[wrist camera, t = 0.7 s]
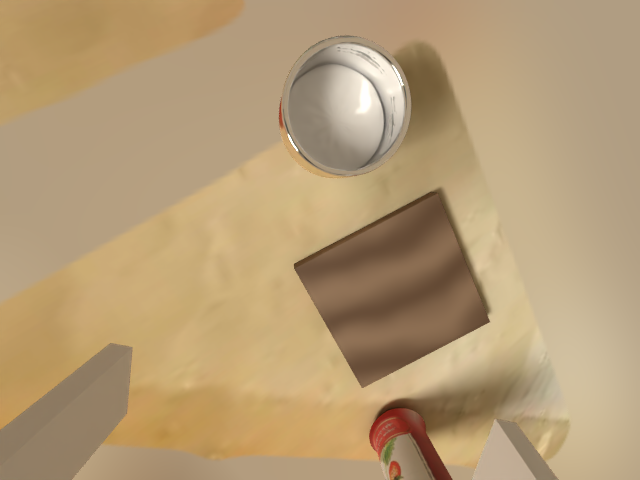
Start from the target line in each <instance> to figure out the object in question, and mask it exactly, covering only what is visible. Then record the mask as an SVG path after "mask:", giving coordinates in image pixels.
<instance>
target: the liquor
mask: <svg viewBox="0 0 640 480" xmlns="http://www.w3.org/2000/svg"><path fill="white" fill-rule="evenodd" d="M369 439H370V443H371V446H372V447H373V449H374V450H375V451H376V452H377V453H378V456H379V460H380V463H381V466H382V470H383V473H384V477H385V480H452V478H451V476H450V475H449V473H448V471H447V469H446V467H445V466H444V464H443V462H442V461H441V459H440V457H439V455H438V453H437V452H436V450H435V448H434V446H433V444H432V443H431V441H430V439H429V437H428V436H427V434H426V426H425V422H424V420H423V418H422V417H421V416H420V415H419V414H418V413H417V412H415V411H413V410H410V409H405V408H397V409H391V410H388V411H386V412H385V413H383V414H382V415H381V416H380V417H378V418H377V420H376V421H375V422H374V423H373V425H372V427H371V430H370V434H369Z"/></svg>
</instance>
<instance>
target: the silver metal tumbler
mask: <svg viewBox="0 0 640 480" xmlns="http://www.w3.org/2000/svg"><path fill="white" fill-rule="evenodd" d="M410 117H411V95H410V89H409V85H408V82H407V79H406V77H405V75H404V72H403V70H402V69H401V67H400V65H399V64H398V63H397V61H396V60H395V59H394V58H393V56H392V55H391V54H390V53H389V52H388V51H386V50H385V49H384V48H382V47H381V46H380V45H378V44H376V43H375V42H372V41H370V40H368V39H365V38H361V37H357V36H336V37H331V38H328V39H325V40H323V41H321V42H318V43H317V44H315V45H313V46H312V47H310V48H309V49H308V50H306V51H305V52H304V53H303V54H302V55H301V56H300V57H299V59H298V60H297V61H296V62H295V64H294V65H293V67H292V68H291V70H290V72H289V74H288V76H287V78H286V81H285V84H284V88H283V93H282V97H281V101H280V107H279V128H280V133H281V137H282V140H283V143H284V145H285V147H286V149H287V151H288V152H289V154H290V155H291V157H292V158H293V159H294V160H295V161H296V162H297V163H298V164H299V165H300V166H301V167H302V168H304V169H305V170H307V171H309V172H310V173H312V174H315V175H317V176H321V177H325V178H347V177H352V176H358V175H362V174H365V173H368V172H370V171H373V170H375V169H376V168H378V167H380V166H381V165H383V164H384V163H385V162H386V161H388V160H389V159H390V158H391V157H392V156H393V154H394V153H395V152H396V151H397V149H398V148H399V147H400V145H401V143H402V141H403V139H404V137H405V135H406V133H407V130H408V127H409V123H410Z"/></svg>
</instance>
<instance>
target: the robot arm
mask: <svg viewBox="0 0 640 480" xmlns="http://www.w3.org/2000/svg"><path fill="white" fill-rule="evenodd" d="M131 359H132V347H128V346H123V345H118V344H113V343H110V344H109V345H108V346H106V347H105V348H104V349H103V350H101V351H100V352H99V353H98V354H96V355H95V356H94V357H92V358H91V359H90V360H89V361H87V362H86V363H85V364H84V365H82V366H81V367H80V368H78V369H77V370H76V371H75V372H73V373H72V374H71V375H70V376H68V377H67V378H66V379H65V380H63V381H62V382H61V383H59V384H58V385H57V386H56V387H54V388H53V389H52V390H51V391H49V392H48V393H47V394H45V395H44V396H43V397H42V398H40V399H39V400H38V401H37V402H35V403H34V404H33V405H32V406H30V407H29V408H28V409H26V410H25V411H24V412H23V413H21V414H20V415H19V416H18V417H16V418H15V419H14V420H13V421H11V422H10V423H9V424H7V425H6V426H5V427H4V428H2V429H1V430H0V480H72V479H73V478H74V476H75V475H76V473H78V471H79V470H80V469H81V468H82V467H83V465H84V464H85V463H86V462H87V461H88V459H89V458H90V457H91V456H92V455H93V453H94V452H95V451H96V450H97V449H98V447H99V446H100V445H101V444H102V443H103V441H104V440H105V439H106V438H107V437H108V435H109V434H110V433H111V432H112V431H113V429H114V428H115V427H116V426H117V425H118V423H119V422H120V421H121V420H122V419H123V417H124V416H125V415H126V414H127V407H128V395H129V383H130V371H131ZM472 480H558V478H557V477H556V476H555V474H554V473H553V472H552V470H551V469H550V468H549V466H548V465H547V464H546V462H545V461H544V460H543V458H542V457H541V456H540V454H539V453H538V452H537V450H536V449H535V448H534V446H533V445H532V444H531V442H530V441H529V440H528V438H527V437H526V436H525V434H524V433H523V432H522V430H521V429H520V428H519V426H518V425H517V424H516V423H515V422H509V421H504V420H499V419H495V420H494V423H493V426H492V428H491V431H490V433H489V436H488V439H487V441H486V444H485V447H484V449H483V452H482V454H481V457H480V460H479V462H478V465H477V467H476V470H475V473H474V475H473V478H472Z"/></svg>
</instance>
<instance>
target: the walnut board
mask: <svg viewBox="0 0 640 480" xmlns="http://www.w3.org/2000/svg"><path fill="white" fill-rule="evenodd" d="M294 269H295V271H296V273H297V274H298V276H299V278H300V280H301V281H302V283H303V285H304V287H305V288H306V290H307V292H308V294H309V295H310V297H311V299H312V301H313V302H314V304H315V306H316V308H317V310H318V311H319V313H320V315H321V317H322V318H323V320H324V322H325V324H326V325H327V327H328V329H329V331H330V332H331V334H332V336H333V338H334V339H335V341H336V343H337V345H338V346H339V348H340V350H341V352H342V354H343V355H344V357H345V359H346V361H347V362H348V364H349V366H350V368H351V369H352V371H353V373H354V375H355V376H356V378H357V380H358V382H359V383H360V385H361V387H362V388H364V387H366V386H367V385H369V384H371V383H373V382H375V381H377V380H379V379H381V378H383V377H385V376H387V375H389V374H391V373H393V372H394V371H396V370H398V369H400V368H402V367H404V366H406V365H408V364H410V363H412V362H414V361H416V360H418V359H420V358H421V357H423V356H425V355H427V354H429V353H431V352H433V351H435V350H437V349H439V348H441V347H443V346H445V345H447V344H449V343H450V342H452V341H454V340H456V339H458V338H460V337H462V336H464V335H466V334H468V333H470V332H472V331H474V330H476V329H477V328H479V327H481V326H483V325H485V324H487V323H489V322H490V321H489V318H488V316H487V313H486V311H485V309H484V306H483V304H482V301H481V299H480V296H479V294H478V291H477V289H476V286H475V284H474V281H473V279H472V276H471V274H470V272H469V269H468V267H467V264H466V262H465V259H464V257H463V254H462V252H461V249H460V247H459V244H458V242H457V239H456V237H455V235H454V232H453V230H452V227H451V225H450V222H449V220H448V217H447V215H446V212H445V210H444V207H443V205H442V202H441V200H440V198H439V195H438V193H433V192H430V193H428V194H427V195H425V196H423V197H421V198H419V199H417V200H415V201H413V202H411V203H409V204H408V205H406V206H404V207H402V208H400V209H398V210H396V211H394V212H392V213H390V214H389V215H387V216H385V217H383V218H381V219H379V220H377V221H375V222H373V223H371V224H369V225H368V226H366V227H364V228H362V229H360V230H358V231H356V232H354V233H352V234H350V235H349V236H347V237H345V238H343V239H341V240H339V241H337V242H335V243H333V244H331V245H330V246H328V247H326V248H324V249H322V250H320V251H318V252H316V253H314V254H312V255H310V256H309V257H307V258H305V259H303V260H301V261H299V262H297V263H295V264H294Z"/></svg>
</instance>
